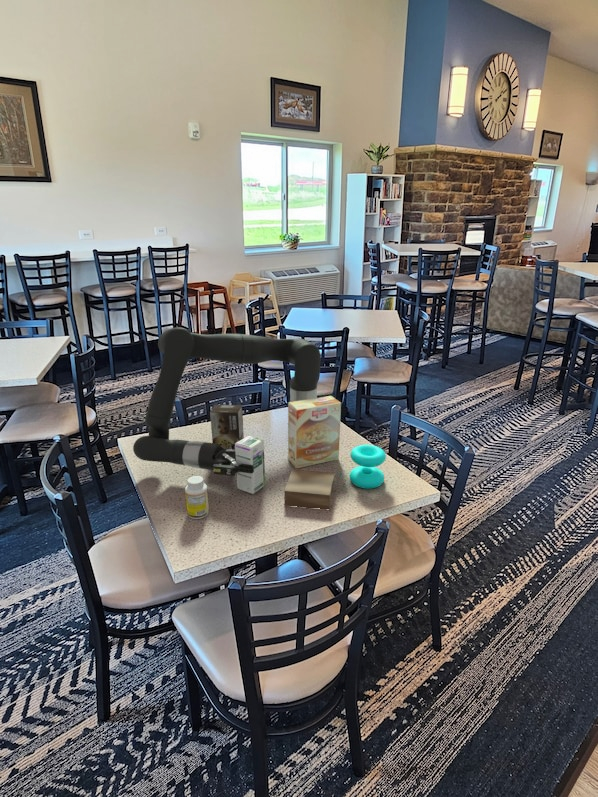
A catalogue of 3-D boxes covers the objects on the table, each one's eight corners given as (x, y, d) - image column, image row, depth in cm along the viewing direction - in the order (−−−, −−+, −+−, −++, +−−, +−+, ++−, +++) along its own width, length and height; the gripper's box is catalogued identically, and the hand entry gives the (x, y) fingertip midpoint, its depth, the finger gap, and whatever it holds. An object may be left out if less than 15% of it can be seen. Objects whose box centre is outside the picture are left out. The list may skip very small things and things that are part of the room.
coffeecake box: (296, 469, 151) (296, 409, 144) (287, 458, 157) (287, 401, 150) (339, 459, 156) (342, 402, 149) (329, 450, 162) (331, 394, 155)
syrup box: (253, 494, 136) (252, 447, 131) (236, 488, 139) (234, 442, 134) (265, 485, 141) (264, 439, 135) (249, 479, 143) (247, 434, 138)
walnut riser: (292, 483, 143) (292, 468, 141) (334, 487, 141) (334, 472, 140) (284, 506, 132) (284, 490, 130) (329, 511, 130) (329, 495, 129)
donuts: (344, 452, 139) (361, 439, 147) (343, 483, 143) (359, 469, 151) (376, 462, 134) (392, 448, 142) (374, 494, 138) (389, 479, 145)
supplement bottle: (194, 506, 132) (192, 472, 128) (213, 510, 130) (210, 476, 126) (182, 517, 127) (179, 482, 123) (201, 522, 125) (198, 487, 121)
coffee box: (244, 450, 162) (243, 404, 156) (240, 459, 156) (238, 412, 150) (217, 449, 163) (214, 403, 157) (212, 458, 157) (209, 411, 151)
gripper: (190, 455, 132) (248, 463, 128) (212, 432, 145) (266, 439, 141) (192, 479, 135) (249, 488, 131) (213, 455, 148) (266, 462, 144)
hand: (258, 462), depth 136 cm, fingers closed on syrup box, 7 cm apart
